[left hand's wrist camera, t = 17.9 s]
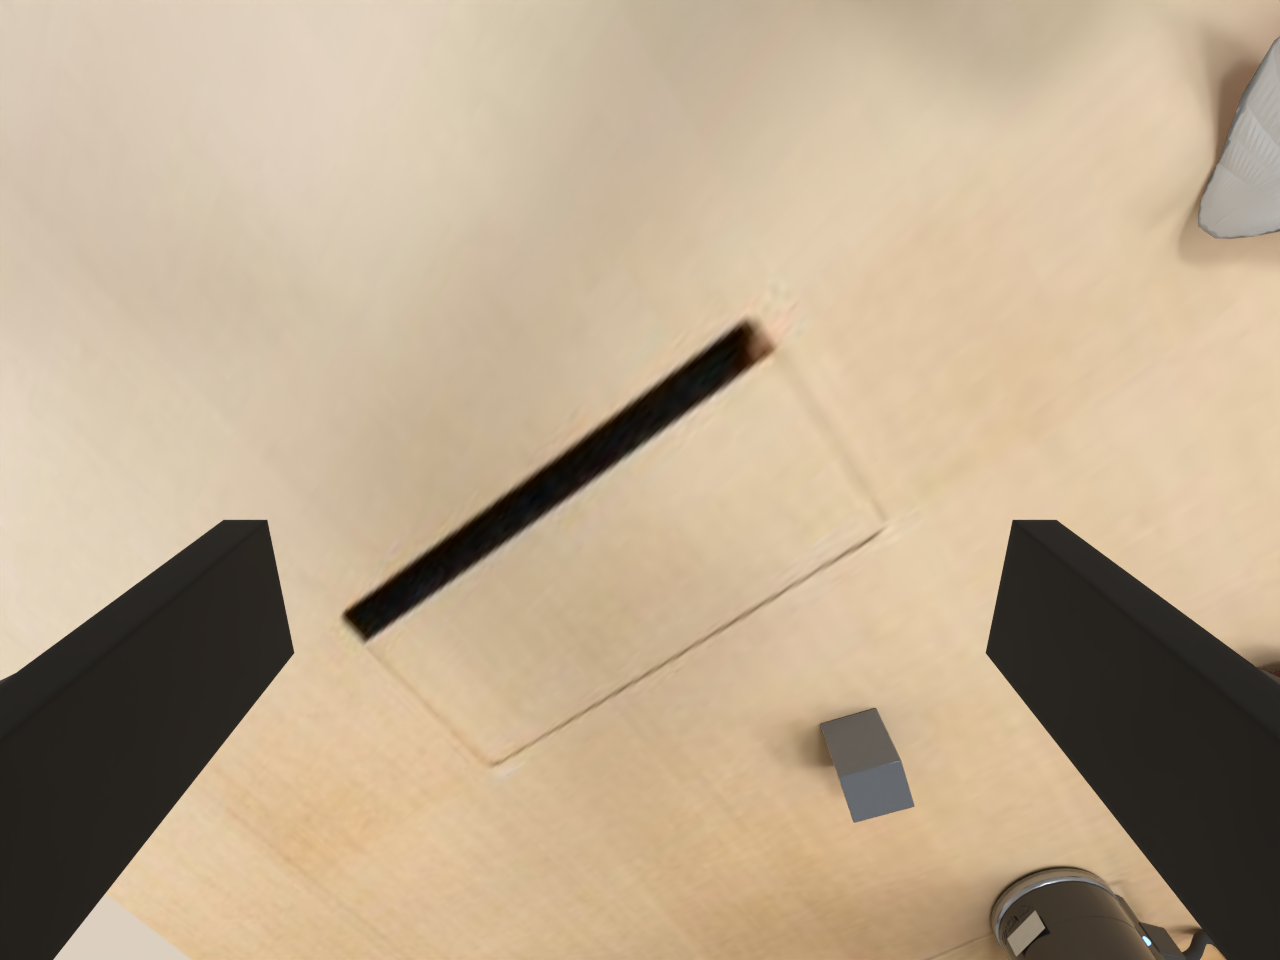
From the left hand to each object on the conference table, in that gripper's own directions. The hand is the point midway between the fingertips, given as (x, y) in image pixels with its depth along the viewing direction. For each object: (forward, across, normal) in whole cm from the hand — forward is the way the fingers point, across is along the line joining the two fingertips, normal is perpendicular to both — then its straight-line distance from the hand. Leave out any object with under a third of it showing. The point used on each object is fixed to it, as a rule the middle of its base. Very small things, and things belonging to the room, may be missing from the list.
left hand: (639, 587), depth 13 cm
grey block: (+29, +15, -28) cm, 43 cm away
